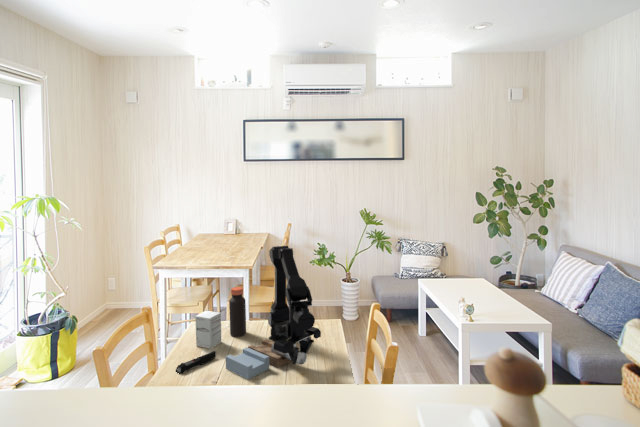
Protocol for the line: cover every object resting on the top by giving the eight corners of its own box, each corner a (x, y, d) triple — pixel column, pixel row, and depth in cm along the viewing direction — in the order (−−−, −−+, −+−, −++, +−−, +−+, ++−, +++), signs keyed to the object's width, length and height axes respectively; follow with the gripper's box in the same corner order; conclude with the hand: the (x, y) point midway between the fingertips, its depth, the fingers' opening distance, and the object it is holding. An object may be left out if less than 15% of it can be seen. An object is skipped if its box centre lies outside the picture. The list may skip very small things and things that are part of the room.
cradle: (226, 368, 143) (225, 356, 143) (247, 358, 150) (246, 347, 150) (248, 379, 135) (247, 366, 135) (269, 368, 143) (269, 356, 142)
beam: (248, 355, 153) (248, 346, 153) (265, 347, 160) (265, 338, 160) (277, 368, 143) (277, 358, 143) (295, 359, 150) (295, 350, 150)
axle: (271, 354, 148) (270, 344, 148) (278, 351, 152) (278, 340, 151) (298, 366, 140) (298, 355, 139) (306, 362, 143) (306, 351, 142)
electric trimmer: (218, 360, 151) (218, 352, 150) (180, 375, 139) (180, 367, 138) (212, 357, 153) (212, 349, 153) (174, 372, 141) (174, 363, 141)
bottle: (227, 336, 171) (226, 290, 169) (234, 330, 177) (233, 285, 175) (242, 337, 169) (241, 291, 167) (248, 331, 176) (247, 286, 174)
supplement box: (195, 346, 161) (194, 315, 160) (207, 339, 168) (206, 309, 167) (210, 349, 159) (209, 318, 157) (222, 342, 165) (221, 312, 164)
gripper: (299, 307, 153) (299, 347, 155) (262, 321, 139) (263, 365, 141) (321, 314, 146) (321, 355, 148) (285, 329, 132) (285, 375, 133)
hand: (298, 362), depth 142 cm, fingers closed on axle, 4 cm apart
